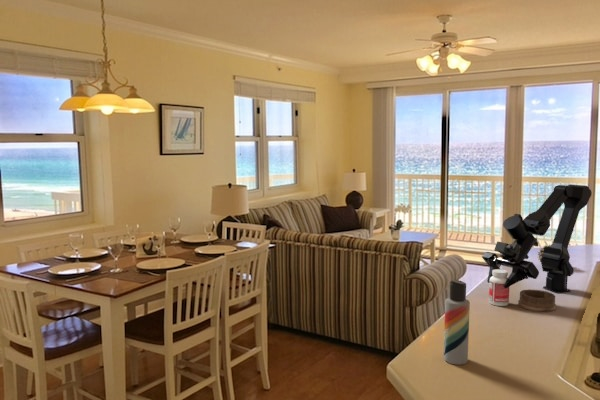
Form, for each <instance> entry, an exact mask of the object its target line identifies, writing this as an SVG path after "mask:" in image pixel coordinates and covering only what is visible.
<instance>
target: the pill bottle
mask: <svg viewBox="0 0 600 400" xmlns="http://www.w3.org/2000/svg"><path fill="white" fill-rule="evenodd" d="M500 269H501V268H500ZM500 269H495V270H492V275H493V276H492V277H490V280H489V283H488V284H489V285H488V302H489V304H491V305H493V306H496V307H506V306H508V305H509V303H510V286H509V287H507V288H505V287H504V284H505V282H506V281H507V279H508V274H509V272H508V270H505V269H501V270H500Z"/></svg>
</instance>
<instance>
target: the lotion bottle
mask: <svg viewBox="0 0 600 400" xmlns="http://www.w3.org/2000/svg"><path fill="white" fill-rule="evenodd" d="M448 295H449V297H447V298H446V299H445V300H444V323H443V324H444V328H443V359H444V362H446V361H447V363H448V364H451V365H455V366H456V365H458V366H461V365H465V364H467V362H468V360H469V342H470V341H469V339H470V337H469V336H470V312H471V311H470V309H471V308H470V307H471V306H470V305H471V304H470V300H468V299H467V283H466V282H464V281H462V280H460V279H452V280H450V281H449V294H448Z"/></svg>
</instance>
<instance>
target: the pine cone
mask: <svg viewBox="0 0 600 400" xmlns="http://www.w3.org/2000/svg"><path fill="white" fill-rule="evenodd" d="M550 245H551V244H548V245H546V244H545V245H544V246H543V247H542V248H540V249H539V251H537V253H538V254H537V255H538V256H537V259H538V260H539V263H541V258H542V257H541V256H542V254H543V251H544V248H545V246H548V247H549V246H550Z"/></svg>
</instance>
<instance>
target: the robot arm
mask: <svg viewBox="0 0 600 400" xmlns="http://www.w3.org/2000/svg"><path fill="white" fill-rule="evenodd" d="M591 197H592V190H591V188H590V187H589V186H588V185H582V184H568V185H563V184H562V185H561V184H558V185H555V186H554V187H553V191H552V192H551V193H550V194H549V196H548V197H547V198H546V199H545V200H544V202H543V203H542V204H541V206H540V207H539V208H538V209H537V210H536V211H532V212H531V213H529V214H527V216H525V217H524V218H523V217H522V215H521V214H519V213H514V214H513V216H509V217H508V218H506V219H504V220H503V223H502V226H503V228H504V230H505V231H506V233H507V234H508V235H509V237H510V238H511V239H512V240H513V242H512V243H506V242H504V241H503V242H502V241H496V244H495V247H494V249H493V250H494V252H498V253H500V254H499V256H500V257H501V258H500V257H499V256H498V255H497V253H494V252H489V251H485V252H484V253H483V255H481V258H482V260H483V261H484V262H485V263H486V264H487V266H488V267H489V270H488V277H487V283H488V284H489V280H490V277H492V276H493V275H492V270H495V269H500V270H502V269H501V266H503V267H508V268H511V269H512V270H511V273H510V274H509V276H507V278H508V279H507V281H506V282H505V284H504V287H505V288H507V287H509V288H510V287H511V286H513V285H514V284H516V283H518V282H520V281H523V280H528V279H529V278H531V279H533V280H534V279H535V280H536V279H537V278H538V277H539V274H540V272H539V271H540V270H539V269H538V268H537V266H536V264H534V262H533V261H527V260H528V259H529V258H530V256H529V255H528V254H529V253H530V251H531V250H532V248H533V247H539V241H538V238H537V237H535V236H544V235H545V234H546V233H547V232H548V231H549V228H550V227H551V220H552V218H553V216H555V214H556V213H557V211H559V209H560V208H561V206H562V205H564V208H563V210H562V214H561V216H560V220H559V222H558V225H557V228H556V229H557V230H556V232H555V235H554V237H553V240H552V243H551V244H549V245H550V246H549V245H546V246H545V245H544V246H545V248H544V247H543V248H544V251H543V254H542V256H541V257H542V258H541V262H540V263H541V267H542V272H547V273H546V277H545V286H542V288H543V289H545V290H548V291H550V292H553V293H556V294H557V293H558V294H559V293H566V292H571V289H569V288H568V277H571V276H572V275H573V274H574V271H575V269H574V267H573V265H572V264H571V263H570V257H571V256H570V252H569V249H568V248H569V245H570V241H571V238H572V235H573V232H574V230H575V226H576V222H577V220H578V217H579V214H580V211H581V210H582V209H583V208H585V207H586V206H587V205H588V203H589V201H590V200H591ZM548 246H549V247H548Z"/></svg>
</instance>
